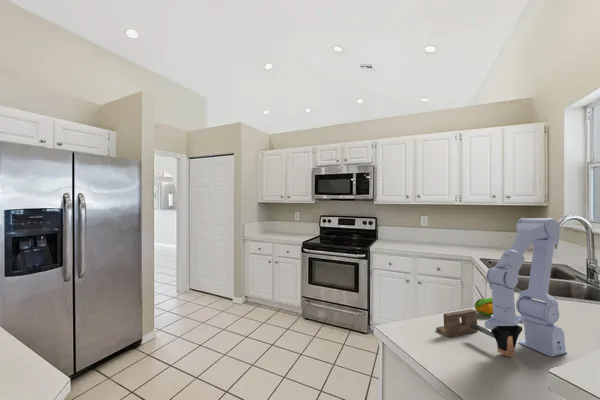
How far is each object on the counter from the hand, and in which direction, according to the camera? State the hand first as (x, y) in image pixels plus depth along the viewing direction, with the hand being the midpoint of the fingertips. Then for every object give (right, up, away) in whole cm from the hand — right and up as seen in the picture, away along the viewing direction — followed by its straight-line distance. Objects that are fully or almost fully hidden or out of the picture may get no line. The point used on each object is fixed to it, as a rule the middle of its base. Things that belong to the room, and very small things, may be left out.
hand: (506, 348), depth 82 cm
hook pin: (-1, -2, +5) cm, 6 cm away
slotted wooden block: (-5, -4, +18) cm, 19 cm away
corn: (+22, -4, +33) cm, 40 cm away
